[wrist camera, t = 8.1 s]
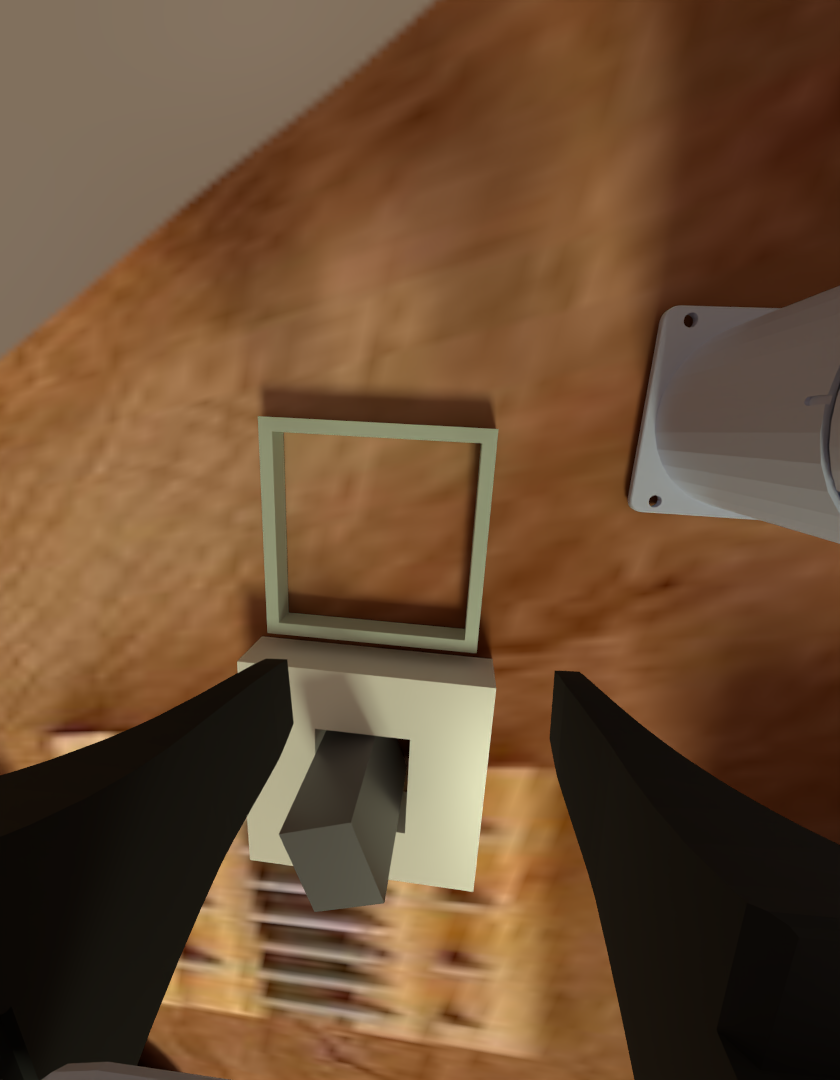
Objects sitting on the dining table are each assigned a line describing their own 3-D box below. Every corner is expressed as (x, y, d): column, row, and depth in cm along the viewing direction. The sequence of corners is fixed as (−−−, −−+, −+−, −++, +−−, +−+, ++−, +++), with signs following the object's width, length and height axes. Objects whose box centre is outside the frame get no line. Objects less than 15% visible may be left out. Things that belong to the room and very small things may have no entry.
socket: (492, 659, 21) (496, 688, 19) (472, 845, 24) (473, 891, 22) (261, 636, 22) (237, 661, 20) (270, 818, 25) (250, 859, 23)
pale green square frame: (496, 429, 18) (498, 428, 17) (475, 640, 21) (476, 653, 20) (270, 417, 19) (257, 416, 18) (277, 622, 22) (267, 632, 21)
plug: (384, 704, 22) (350, 822, 16) (407, 766, 23) (384, 903, 16) (332, 715, 23) (278, 834, 16) (356, 775, 24) (314, 912, 17)
